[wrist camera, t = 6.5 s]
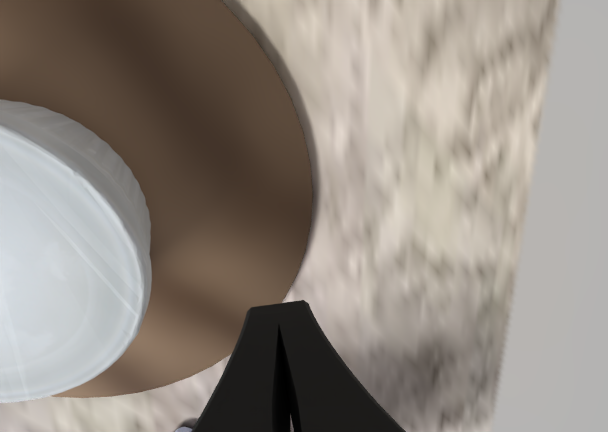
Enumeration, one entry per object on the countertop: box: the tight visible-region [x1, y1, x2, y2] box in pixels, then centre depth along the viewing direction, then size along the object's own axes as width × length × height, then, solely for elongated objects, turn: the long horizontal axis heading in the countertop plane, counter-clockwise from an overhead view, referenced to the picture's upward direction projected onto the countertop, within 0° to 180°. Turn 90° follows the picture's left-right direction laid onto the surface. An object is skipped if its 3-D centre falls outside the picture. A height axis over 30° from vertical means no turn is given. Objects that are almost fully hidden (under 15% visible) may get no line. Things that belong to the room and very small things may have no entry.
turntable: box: [0, 0, 313, 398], centre depth 18 cm, size 22×22×2 cm
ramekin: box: [0, 100, 152, 403], centre depth 16 cm, size 11×11×5 cm
